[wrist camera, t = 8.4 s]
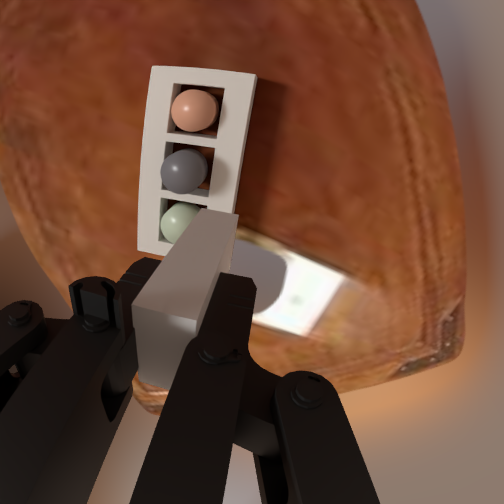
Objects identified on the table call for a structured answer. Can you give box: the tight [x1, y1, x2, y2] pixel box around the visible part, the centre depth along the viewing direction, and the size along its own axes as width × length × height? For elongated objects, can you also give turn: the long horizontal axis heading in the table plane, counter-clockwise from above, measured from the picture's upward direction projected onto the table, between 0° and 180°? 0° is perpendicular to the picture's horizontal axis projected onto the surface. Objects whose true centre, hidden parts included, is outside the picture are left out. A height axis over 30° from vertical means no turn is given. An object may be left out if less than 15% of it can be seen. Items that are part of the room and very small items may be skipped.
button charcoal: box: [160, 148, 208, 194], centre depth 34 cm, size 5×5×3 cm
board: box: [138, 66, 258, 256], centre depth 36 cm, size 24×12×3 cm, turn 170°
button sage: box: [161, 201, 200, 244], centre depth 39 cm, size 5×5×3 cm
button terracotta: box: [171, 90, 219, 132], centre depth 32 cm, size 5×5×3 cm
